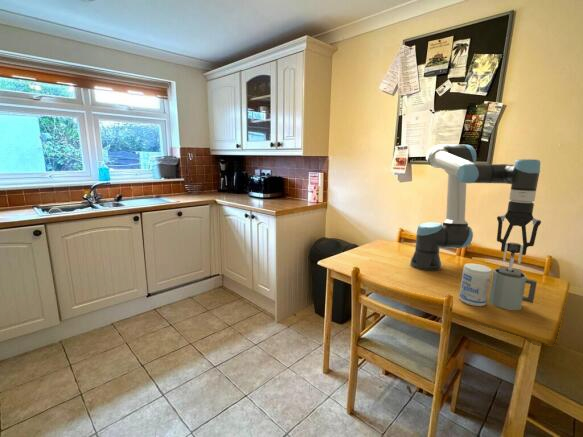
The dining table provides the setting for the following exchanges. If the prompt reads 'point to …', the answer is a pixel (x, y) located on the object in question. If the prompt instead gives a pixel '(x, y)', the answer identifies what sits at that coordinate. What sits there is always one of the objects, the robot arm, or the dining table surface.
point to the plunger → (512, 253)
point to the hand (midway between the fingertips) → (511, 261)
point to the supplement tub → (475, 284)
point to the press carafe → (510, 288)
